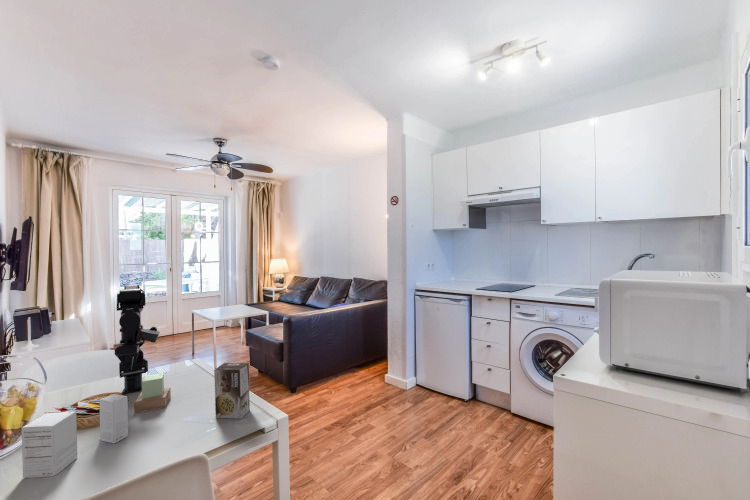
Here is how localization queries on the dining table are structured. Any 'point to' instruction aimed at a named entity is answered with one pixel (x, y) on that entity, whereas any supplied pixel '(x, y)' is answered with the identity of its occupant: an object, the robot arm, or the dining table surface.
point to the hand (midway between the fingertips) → (131, 367)
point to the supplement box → (49, 444)
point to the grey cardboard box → (232, 390)
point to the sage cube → (152, 385)
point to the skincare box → (113, 418)
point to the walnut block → (152, 401)
